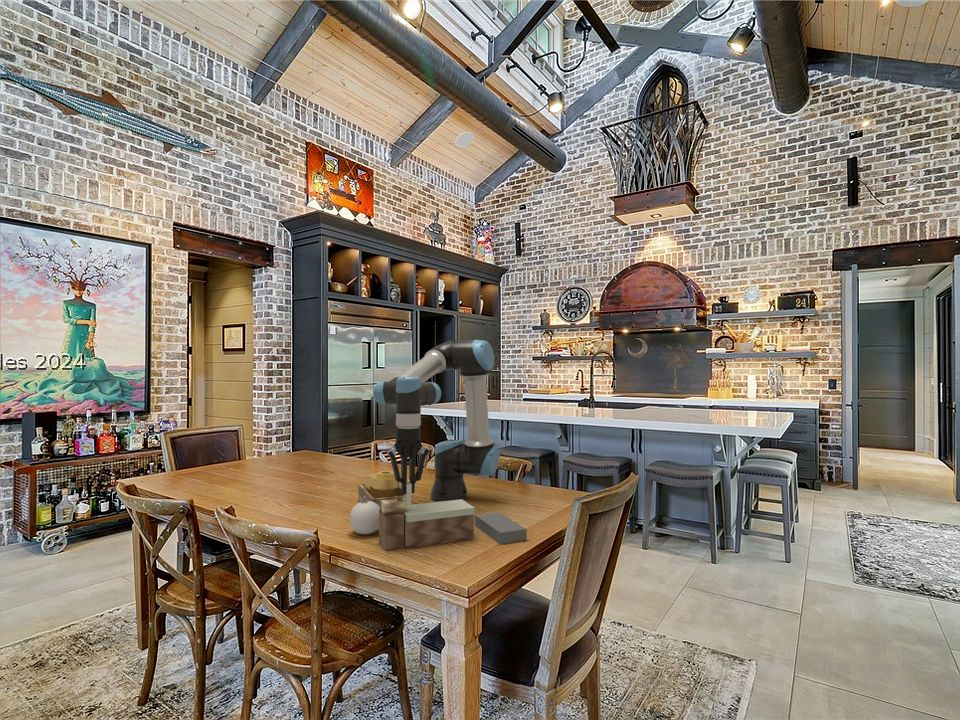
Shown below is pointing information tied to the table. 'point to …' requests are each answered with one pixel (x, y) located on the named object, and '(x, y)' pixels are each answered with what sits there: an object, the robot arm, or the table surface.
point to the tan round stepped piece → (381, 484)
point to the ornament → (365, 517)
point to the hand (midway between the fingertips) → (407, 504)
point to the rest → (500, 528)
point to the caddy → (364, 492)
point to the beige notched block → (394, 505)
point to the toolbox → (422, 530)
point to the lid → (438, 510)
